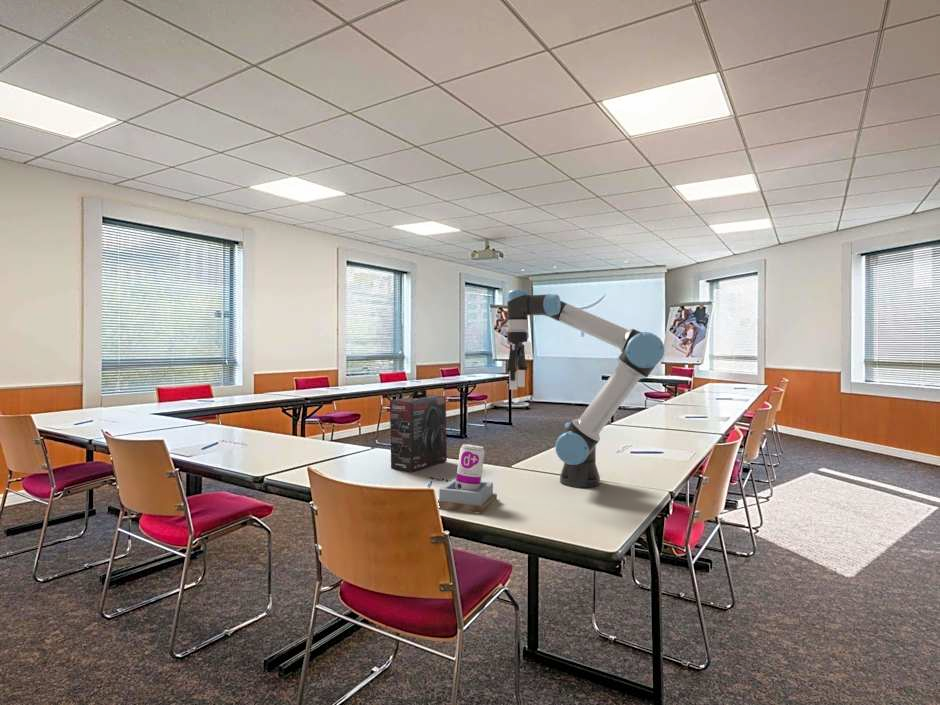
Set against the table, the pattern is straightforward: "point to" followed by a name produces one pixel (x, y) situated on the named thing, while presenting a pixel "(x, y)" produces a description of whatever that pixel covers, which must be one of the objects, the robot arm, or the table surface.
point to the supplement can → (469, 468)
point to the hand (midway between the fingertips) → (517, 388)
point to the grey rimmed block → (465, 494)
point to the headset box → (418, 431)
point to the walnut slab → (468, 507)
